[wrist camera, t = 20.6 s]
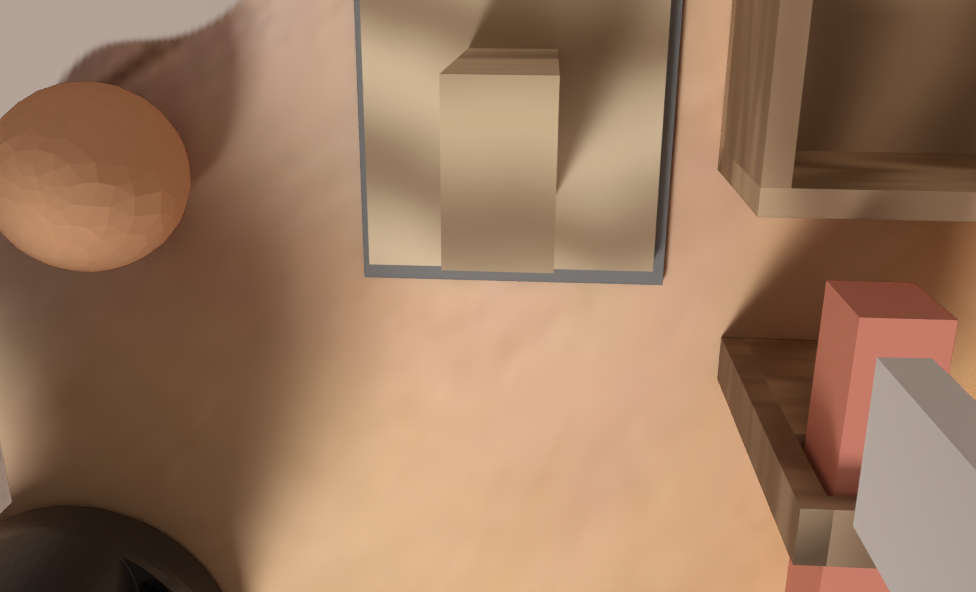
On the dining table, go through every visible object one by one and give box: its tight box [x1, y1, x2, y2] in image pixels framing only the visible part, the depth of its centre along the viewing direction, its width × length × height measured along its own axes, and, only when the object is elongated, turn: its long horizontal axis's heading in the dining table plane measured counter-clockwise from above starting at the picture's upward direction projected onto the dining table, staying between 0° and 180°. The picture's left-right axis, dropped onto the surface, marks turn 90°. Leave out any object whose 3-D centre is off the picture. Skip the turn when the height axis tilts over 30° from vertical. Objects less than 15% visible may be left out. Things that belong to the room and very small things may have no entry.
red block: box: [785, 280, 958, 592], centre depth 31 cm, size 3×16×4 cm, turn 0°
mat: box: [354, 0, 683, 285], centre depth 37 cm, size 13×22×1 cm, turn 0°
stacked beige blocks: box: [360, 0, 671, 273], centre depth 32 cm, size 20×12×11 cm, turn 0°
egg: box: [0, 81, 191, 272], centre depth 36 cm, size 7×7×8 cm
